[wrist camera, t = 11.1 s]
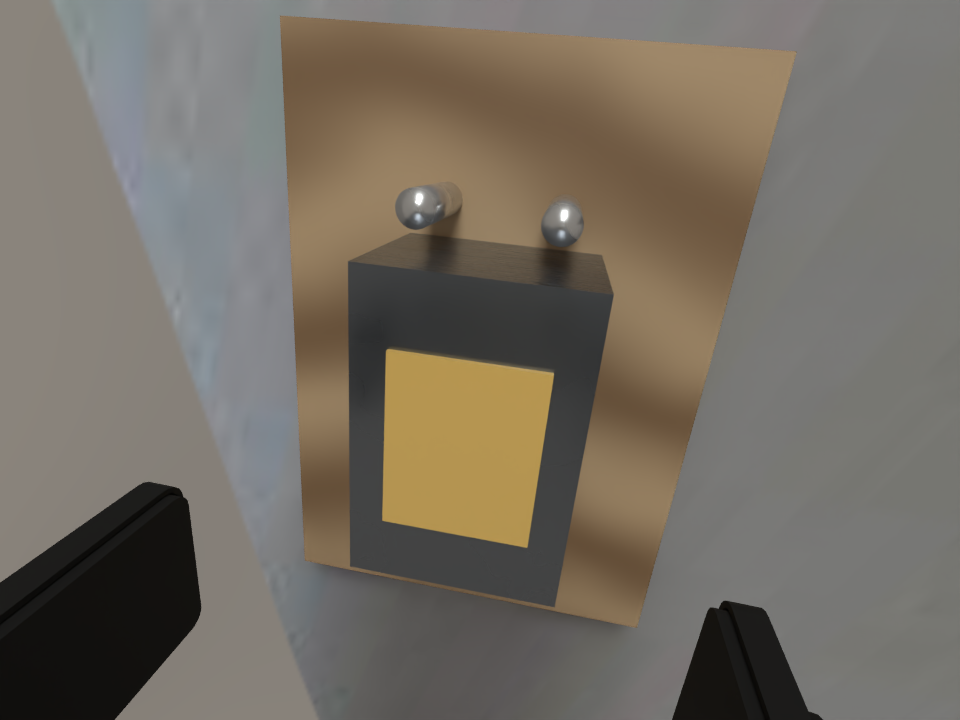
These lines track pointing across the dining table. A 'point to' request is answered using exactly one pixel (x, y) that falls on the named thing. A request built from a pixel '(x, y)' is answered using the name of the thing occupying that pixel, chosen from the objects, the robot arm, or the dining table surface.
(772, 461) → the dining table surface
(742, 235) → the tray
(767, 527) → the dining table surface
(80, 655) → the robot arm
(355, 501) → the block
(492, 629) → the dining table surface
